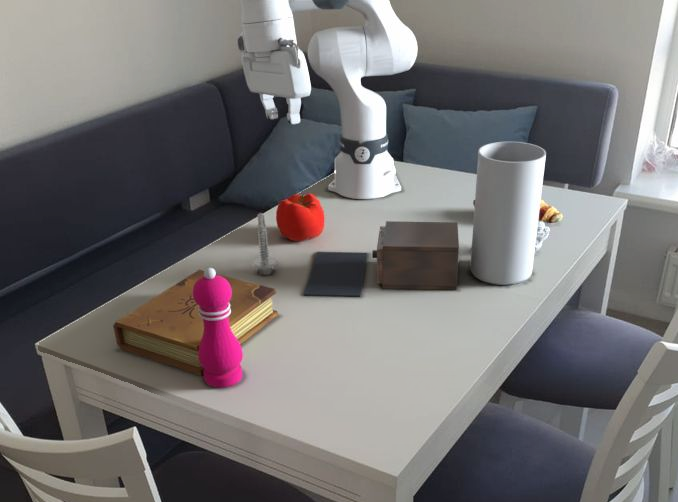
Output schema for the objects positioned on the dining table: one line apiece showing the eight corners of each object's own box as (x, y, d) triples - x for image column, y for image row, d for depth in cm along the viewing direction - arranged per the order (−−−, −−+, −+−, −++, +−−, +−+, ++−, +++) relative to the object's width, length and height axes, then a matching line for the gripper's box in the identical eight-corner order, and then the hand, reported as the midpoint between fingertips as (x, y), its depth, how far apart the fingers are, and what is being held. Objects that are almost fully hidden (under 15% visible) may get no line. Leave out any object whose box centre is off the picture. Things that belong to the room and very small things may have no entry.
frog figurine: (545, 259, 168) (549, 228, 164) (511, 256, 170) (514, 225, 166) (548, 248, 173) (552, 218, 169) (516, 244, 175) (519, 214, 171)
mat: (316, 253, 173) (316, 251, 173) (367, 253, 172) (367, 252, 172) (304, 295, 157) (304, 294, 157) (360, 296, 156) (360, 295, 156)
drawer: (370, 283, 159) (370, 249, 155) (374, 258, 168) (374, 226, 164) (445, 284, 158) (446, 250, 154) (444, 260, 167) (446, 227, 163)
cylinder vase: (458, 266, 166) (466, 147, 152) (510, 255, 170) (521, 138, 156) (490, 291, 157) (501, 166, 143) (544, 279, 161) (559, 156, 147)
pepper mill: (210, 394, 129) (193, 282, 118) (195, 373, 134) (179, 264, 123) (251, 382, 131) (239, 272, 120) (236, 361, 137) (223, 254, 126)
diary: (199, 295, 158) (196, 268, 155) (278, 316, 150) (275, 288, 147) (117, 348, 141) (111, 319, 138) (200, 375, 134) (196, 345, 130)
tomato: (300, 250, 175) (297, 211, 170) (267, 235, 182) (264, 197, 177) (337, 237, 180) (335, 198, 175) (304, 222, 188) (301, 185, 183)
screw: (251, 269, 167) (274, 265, 168) (256, 278, 163) (279, 275, 165) (246, 210, 160) (269, 207, 161) (251, 218, 156) (275, 215, 157)
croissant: (561, 233, 188) (568, 199, 187) (557, 228, 178) (565, 192, 177) (474, 220, 194) (480, 187, 193) (465, 215, 185) (472, 180, 184)
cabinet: (382, 288, 159) (382, 246, 154) (385, 261, 169) (386, 221, 164) (456, 290, 157) (459, 247, 152) (455, 262, 168) (457, 222, 163)
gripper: (313, 35, 131) (325, 122, 137) (263, 35, 147) (276, 113, 153) (278, 41, 128) (292, 130, 135) (232, 40, 145) (246, 119, 151)
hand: (283, 121), depth 144 cm, fingers open, 8 cm apart
